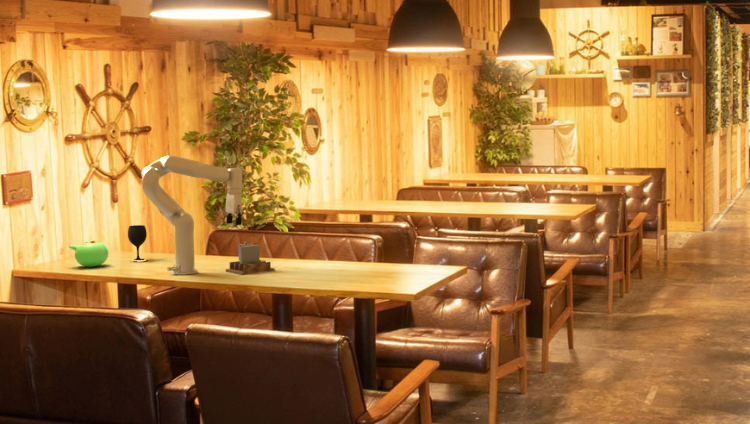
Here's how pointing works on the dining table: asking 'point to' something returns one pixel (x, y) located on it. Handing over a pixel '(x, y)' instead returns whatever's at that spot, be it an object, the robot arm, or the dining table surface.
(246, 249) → the plate
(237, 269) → the rack
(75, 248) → the green teapot
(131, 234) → the wine glass
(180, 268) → the robot arm
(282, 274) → the dining table surface
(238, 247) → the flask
